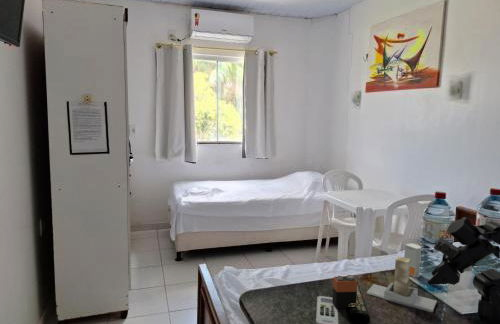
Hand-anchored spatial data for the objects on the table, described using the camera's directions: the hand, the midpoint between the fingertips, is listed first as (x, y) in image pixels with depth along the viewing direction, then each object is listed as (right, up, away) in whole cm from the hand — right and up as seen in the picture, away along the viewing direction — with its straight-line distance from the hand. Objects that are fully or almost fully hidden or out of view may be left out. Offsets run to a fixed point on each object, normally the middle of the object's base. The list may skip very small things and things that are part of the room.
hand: (430, 278), depth 117 cm
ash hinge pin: (-7, -9, +5) cm, 13 cm away
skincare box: (+6, -7, +26) cm, 28 cm away
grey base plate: (-7, -9, +5) cm, 13 cm away
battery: (-29, -9, 0) cm, 30 cm away
